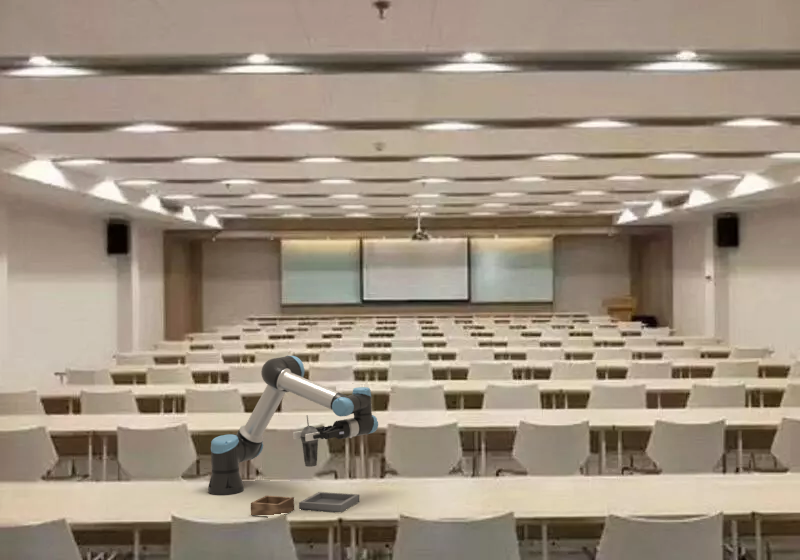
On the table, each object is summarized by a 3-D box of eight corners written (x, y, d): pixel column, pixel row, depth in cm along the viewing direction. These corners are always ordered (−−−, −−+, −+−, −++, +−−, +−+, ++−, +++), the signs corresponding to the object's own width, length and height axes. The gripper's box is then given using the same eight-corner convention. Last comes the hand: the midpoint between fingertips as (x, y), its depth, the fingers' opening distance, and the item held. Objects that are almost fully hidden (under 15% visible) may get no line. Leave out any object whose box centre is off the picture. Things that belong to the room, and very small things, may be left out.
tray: (299, 509, 386) (299, 502, 386) (319, 499, 403) (319, 491, 403) (340, 512, 380) (340, 505, 380) (359, 501, 396) (359, 494, 396)
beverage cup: (323, 464, 388) (321, 413, 387) (312, 467, 381) (310, 416, 381) (309, 463, 391) (307, 413, 391) (297, 466, 385) (295, 415, 385)
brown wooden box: (250, 515, 379) (250, 502, 379) (266, 508, 390) (266, 495, 390) (279, 518, 374) (279, 504, 374) (294, 510, 386) (293, 497, 386)
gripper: (361, 440, 391) (315, 449, 376) (330, 435, 406) (285, 443, 390) (360, 421, 391) (315, 429, 376) (329, 417, 406) (284, 424, 390)
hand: (299, 436), depth 383 cm, fingers closed on beverage cup, 7 cm apart
